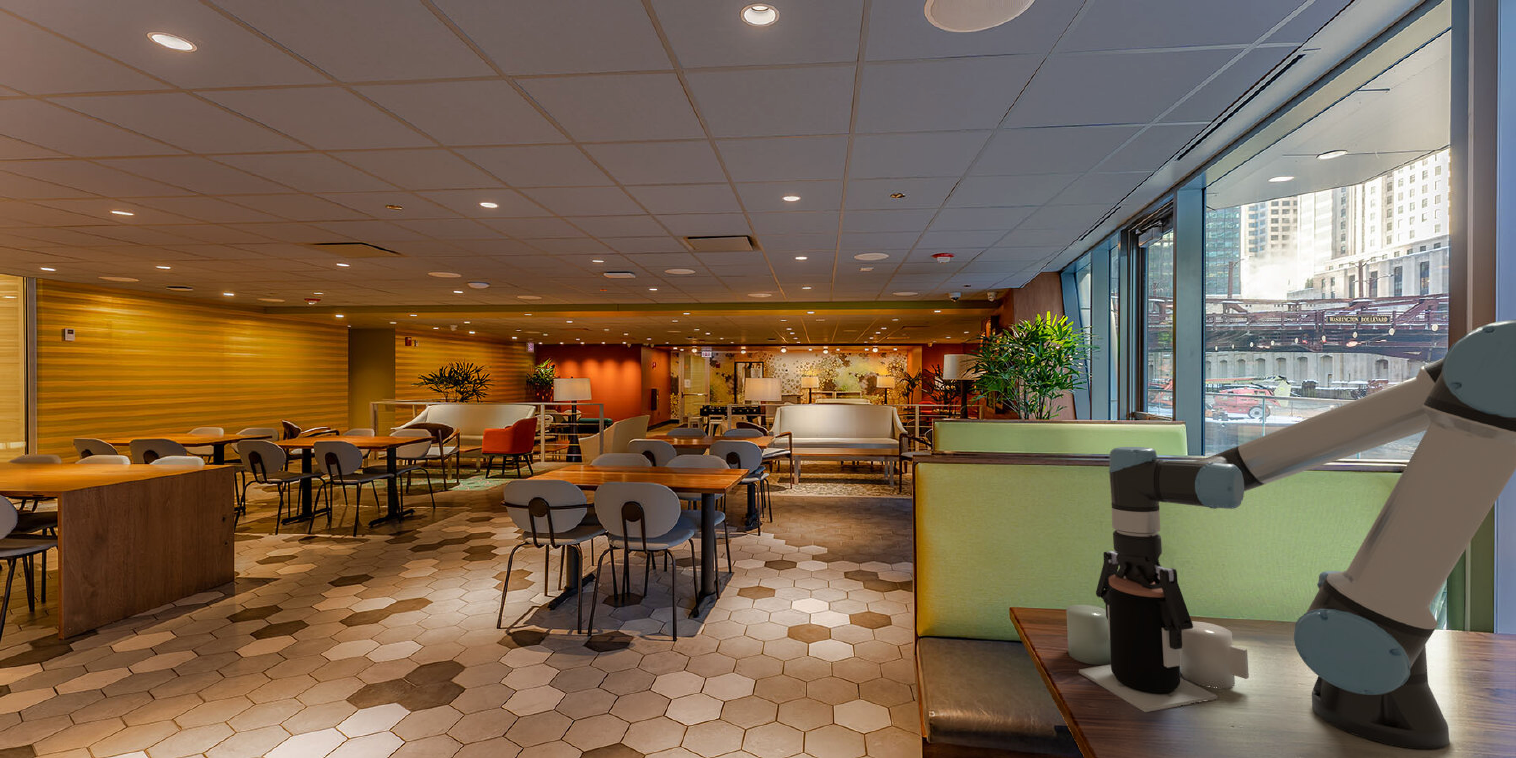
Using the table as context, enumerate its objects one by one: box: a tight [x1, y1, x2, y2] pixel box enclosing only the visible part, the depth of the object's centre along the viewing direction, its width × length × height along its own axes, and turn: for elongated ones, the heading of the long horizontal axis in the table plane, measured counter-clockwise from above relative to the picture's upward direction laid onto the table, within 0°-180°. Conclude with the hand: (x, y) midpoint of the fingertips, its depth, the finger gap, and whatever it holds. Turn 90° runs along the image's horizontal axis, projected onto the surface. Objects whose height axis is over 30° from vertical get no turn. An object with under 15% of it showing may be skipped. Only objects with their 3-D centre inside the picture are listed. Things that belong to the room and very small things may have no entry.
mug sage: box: [1065, 604, 1111, 666], centre depth 122 cm, size 10×8×9 cm
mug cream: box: [1180, 620, 1250, 689], centre depth 111 cm, size 10×8×9 cm
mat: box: [1078, 664, 1218, 713], centre depth 110 cm, size 15×15×1 cm
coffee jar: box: [1108, 574, 1181, 694], centre depth 110 cm, size 11×11×18 cm
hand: (1142, 651), depth 110 cm, fingers open, 11 cm apart
